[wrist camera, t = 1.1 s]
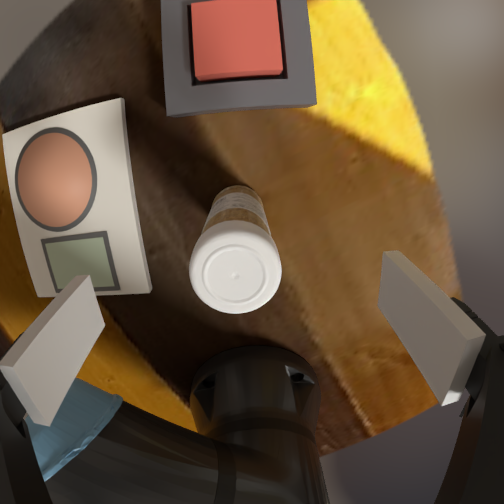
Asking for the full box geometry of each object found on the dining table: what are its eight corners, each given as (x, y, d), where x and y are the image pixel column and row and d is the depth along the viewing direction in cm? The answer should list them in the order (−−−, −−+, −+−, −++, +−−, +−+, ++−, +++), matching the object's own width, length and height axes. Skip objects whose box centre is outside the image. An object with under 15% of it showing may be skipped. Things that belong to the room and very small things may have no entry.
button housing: (307, 107, 25) (316, 104, 22) (176, 117, 25) (167, 115, 21) (296, -6, 21) (303, -22, 18) (169, 4, 21) (160, -11, 18)
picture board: (152, 288, 30) (149, 293, 29) (42, 292, 30) (37, 297, 29) (124, 98, 24) (119, 97, 23) (8, 133, 24) (1, 134, 23)
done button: (278, 76, 22) (282, 69, 19) (200, 82, 22) (195, 76, 19) (272, 10, 20) (275, -3, 17) (196, 16, 20) (191, 3, 17)
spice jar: (232, 244, 29) (226, 331, 16) (201, 204, 28) (168, 267, 15) (274, 214, 28) (300, 284, 16) (243, 172, 27) (245, 210, 14)
